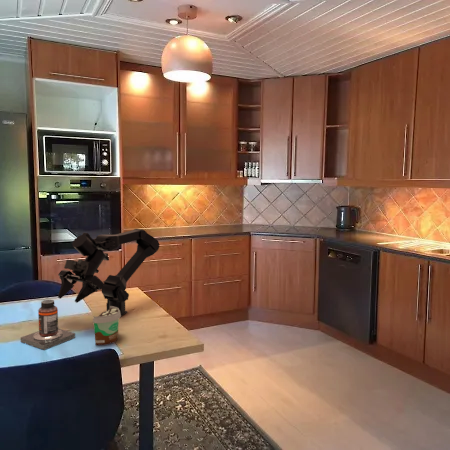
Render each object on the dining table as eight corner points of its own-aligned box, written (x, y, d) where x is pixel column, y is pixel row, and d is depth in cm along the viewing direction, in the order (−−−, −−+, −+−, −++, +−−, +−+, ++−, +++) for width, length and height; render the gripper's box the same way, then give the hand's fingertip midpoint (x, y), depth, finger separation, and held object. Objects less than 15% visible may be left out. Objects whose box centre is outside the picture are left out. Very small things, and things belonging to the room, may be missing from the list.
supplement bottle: (37, 332, 138) (36, 300, 136) (56, 329, 141) (55, 297, 140) (40, 338, 133) (39, 304, 131) (59, 335, 136) (59, 302, 135)
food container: (110, 348, 131) (110, 318, 130) (93, 346, 132) (92, 316, 131) (127, 334, 143) (127, 306, 142) (111, 332, 144) (110, 305, 143)
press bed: (52, 330, 145) (52, 325, 145) (75, 337, 139) (75, 332, 139) (20, 341, 135) (20, 336, 135) (43, 350, 129) (43, 344, 129)
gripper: (61, 248, 150) (35, 284, 142) (95, 253, 140) (69, 291, 132) (80, 265, 158) (56, 300, 150) (113, 271, 148) (90, 308, 140)
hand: (67, 300), depth 143 cm, fingers open, 9 cm apart
